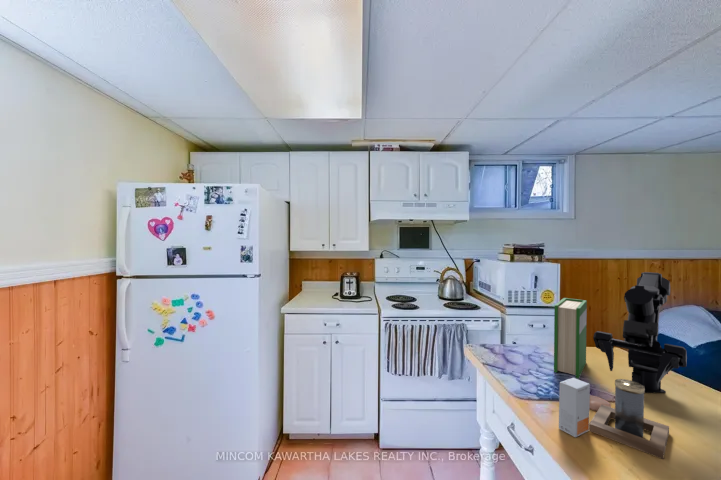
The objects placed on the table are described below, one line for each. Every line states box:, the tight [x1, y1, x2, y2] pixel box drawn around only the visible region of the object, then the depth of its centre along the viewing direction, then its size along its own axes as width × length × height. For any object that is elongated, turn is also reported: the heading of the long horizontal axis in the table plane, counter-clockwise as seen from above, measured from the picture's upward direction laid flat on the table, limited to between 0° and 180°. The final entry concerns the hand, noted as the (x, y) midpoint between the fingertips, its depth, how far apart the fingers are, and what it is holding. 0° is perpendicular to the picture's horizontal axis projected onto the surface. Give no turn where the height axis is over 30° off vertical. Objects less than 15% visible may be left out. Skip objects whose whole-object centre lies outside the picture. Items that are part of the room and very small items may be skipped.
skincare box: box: [558, 377, 591, 438], centre depth 79 cm, size 6×4×12 cm
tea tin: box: [614, 378, 645, 438], centre depth 78 cm, size 6×6×12 cm
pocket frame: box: [588, 405, 670, 460], centre depth 78 cm, size 13×13×2 cm
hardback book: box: [553, 297, 588, 379], centre depth 116 cm, size 18×7×24 cm, turn 138°
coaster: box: [589, 394, 612, 412], centre depth 91 cm, size 8×8×1 cm
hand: (633, 376), depth 82 cm, fingers open, 9 cm apart
